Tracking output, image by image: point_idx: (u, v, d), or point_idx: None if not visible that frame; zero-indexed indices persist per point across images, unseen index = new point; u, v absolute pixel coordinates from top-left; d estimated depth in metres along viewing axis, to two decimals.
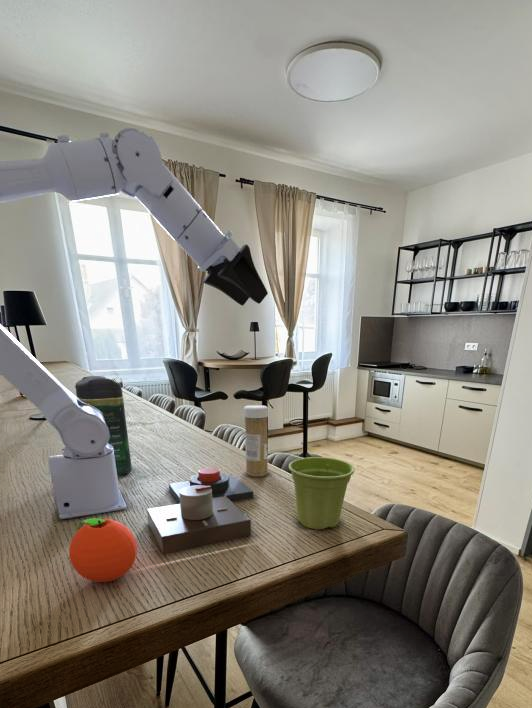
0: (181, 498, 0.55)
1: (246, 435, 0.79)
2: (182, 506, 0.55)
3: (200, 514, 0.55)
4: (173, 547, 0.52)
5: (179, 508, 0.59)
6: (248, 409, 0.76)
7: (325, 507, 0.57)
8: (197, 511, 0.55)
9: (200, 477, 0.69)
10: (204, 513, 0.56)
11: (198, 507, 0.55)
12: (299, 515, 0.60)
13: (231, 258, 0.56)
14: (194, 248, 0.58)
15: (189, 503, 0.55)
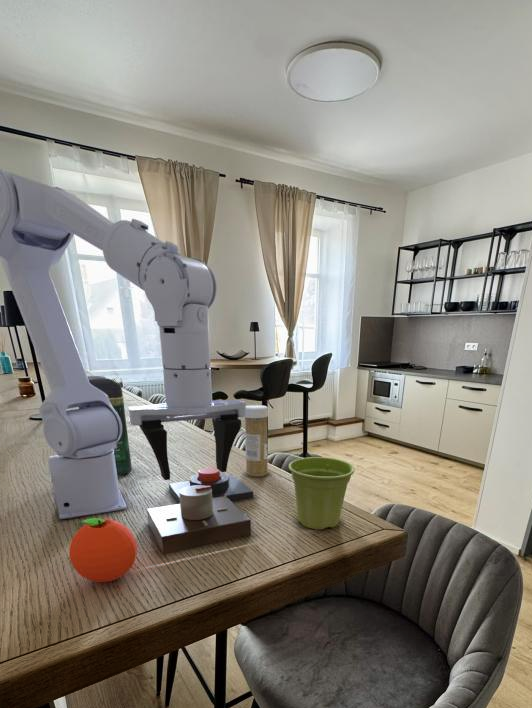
0: (181, 498, 0.55)
1: (246, 435, 0.79)
2: (182, 506, 0.55)
3: (200, 514, 0.55)
4: (173, 547, 0.52)
5: (179, 508, 0.59)
6: (248, 409, 0.76)
7: (325, 507, 0.57)
8: (197, 511, 0.55)
9: (200, 477, 0.69)
10: (204, 513, 0.56)
11: (198, 507, 0.55)
12: (299, 515, 0.60)
13: (130, 421, 0.50)
14: None
15: (189, 503, 0.55)
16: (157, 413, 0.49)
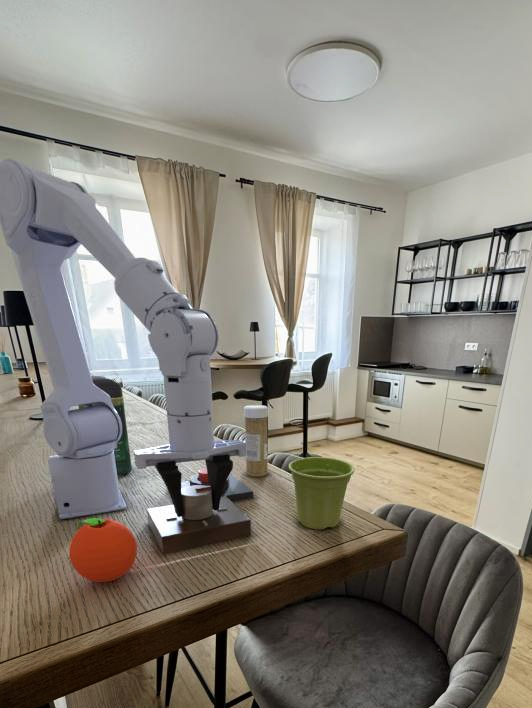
0: None
1: (246, 435, 0.79)
2: None
3: (200, 514, 0.55)
4: (173, 547, 0.52)
5: None
6: (248, 409, 0.76)
7: (325, 507, 0.57)
8: (197, 511, 0.55)
9: (200, 477, 0.69)
10: (204, 513, 0.56)
11: (198, 507, 0.55)
12: (299, 515, 0.60)
13: (135, 464, 0.52)
14: None
15: (189, 503, 0.55)
16: (161, 457, 0.51)
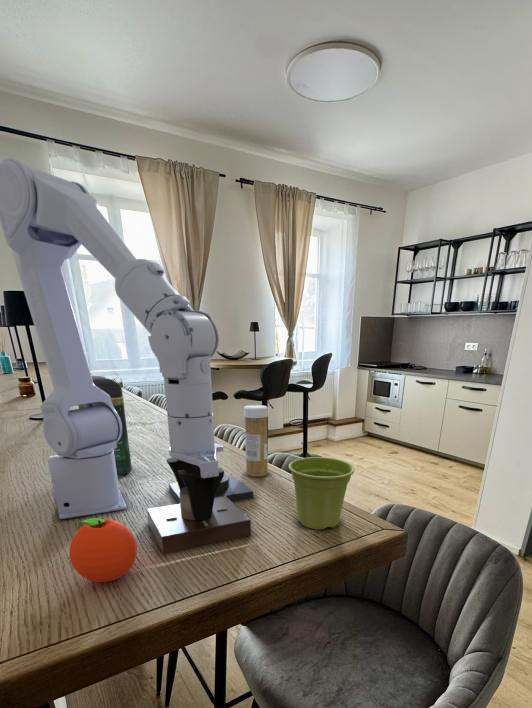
0: None
1: (246, 435, 0.79)
2: None
3: None
4: (173, 547, 0.52)
5: (179, 508, 0.59)
6: (248, 409, 0.76)
7: (325, 507, 0.57)
8: None
9: None
10: None
11: None
12: (299, 515, 0.60)
13: (204, 476, 0.48)
14: (179, 436, 0.51)
15: None
16: None
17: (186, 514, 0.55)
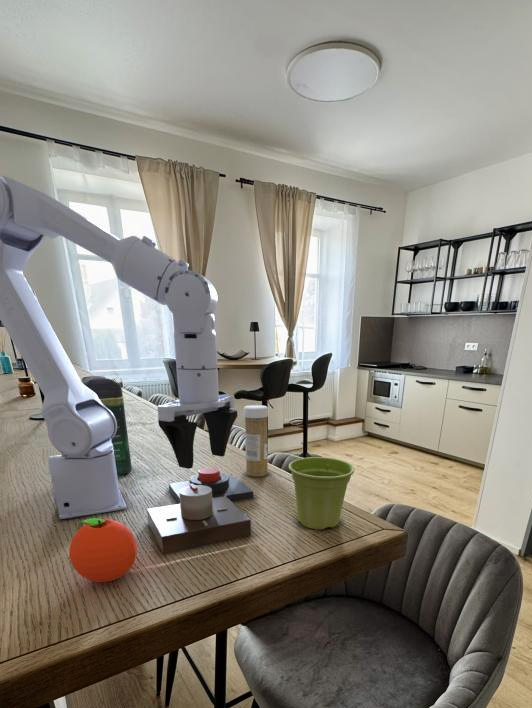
0: (203, 499, 0.55)
1: (246, 435, 0.79)
2: (205, 507, 0.55)
3: None
4: (173, 547, 0.52)
5: (179, 508, 0.59)
6: (248, 409, 0.76)
7: (325, 507, 0.57)
8: (212, 504, 0.57)
9: (200, 477, 0.69)
10: None
11: None
12: (299, 515, 0.60)
13: (159, 419, 0.55)
14: None
15: (211, 499, 0.56)
16: (187, 409, 0.56)
17: (186, 514, 0.55)
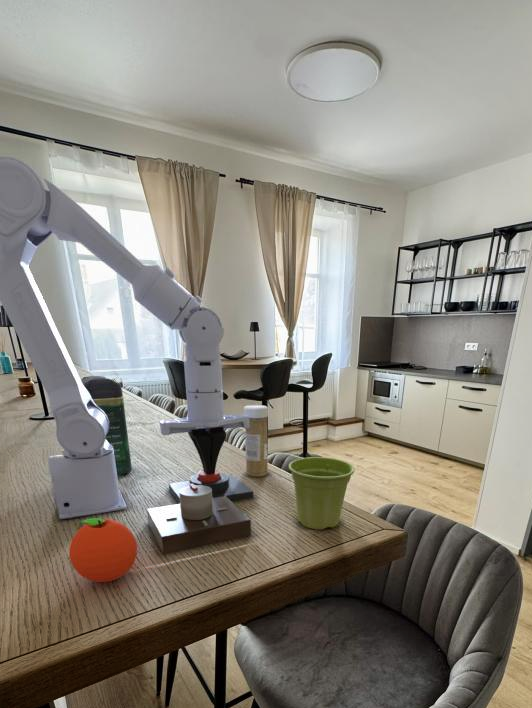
0: (203, 499, 0.55)
1: (246, 435, 0.79)
2: (205, 507, 0.55)
3: None
4: (173, 547, 0.52)
5: (179, 508, 0.59)
6: (248, 409, 0.76)
7: (325, 507, 0.57)
8: (212, 504, 0.57)
9: (200, 479, 0.69)
10: None
11: None
12: (299, 515, 0.60)
13: None
14: None
15: (211, 499, 0.56)
16: (182, 426, 0.64)
17: (186, 514, 0.55)
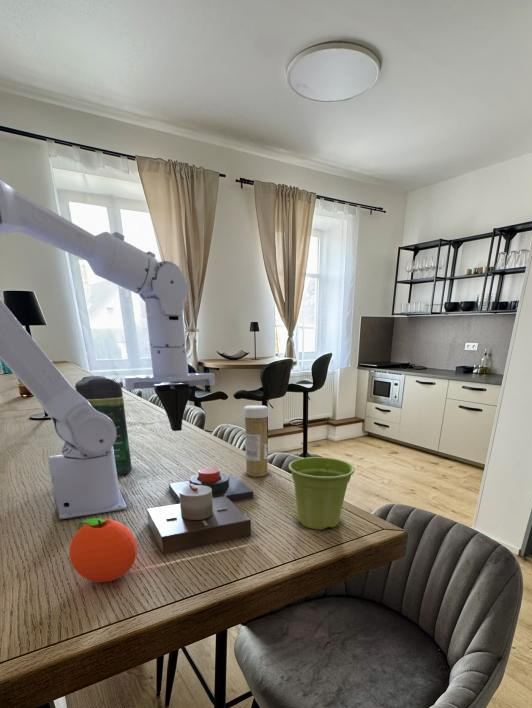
0: (203, 499, 0.55)
1: (246, 435, 0.79)
2: (205, 507, 0.55)
3: None
4: (173, 547, 0.52)
5: (179, 508, 0.59)
6: (248, 409, 0.76)
7: (325, 507, 0.57)
8: (212, 504, 0.57)
9: (200, 477, 0.69)
10: None
11: None
12: (299, 515, 0.60)
13: (126, 387, 0.67)
14: None
15: (211, 499, 0.56)
16: (146, 380, 0.65)
17: (186, 514, 0.55)
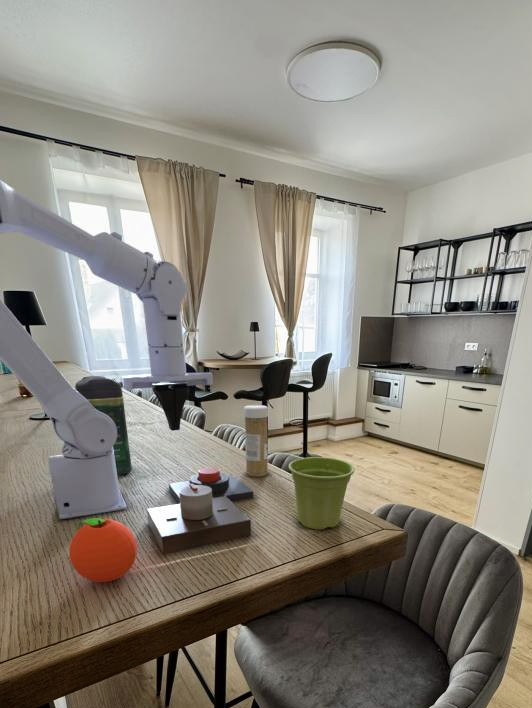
0: (203, 499, 0.55)
1: (246, 435, 0.79)
2: (205, 507, 0.55)
3: None
4: (173, 547, 0.52)
5: (179, 508, 0.59)
6: (248, 409, 0.76)
7: (325, 507, 0.57)
8: (212, 504, 0.57)
9: (200, 477, 0.69)
10: None
11: None
12: (299, 515, 0.60)
13: (124, 387, 0.67)
14: None
15: (211, 499, 0.56)
16: (144, 380, 0.66)
17: (186, 514, 0.55)
